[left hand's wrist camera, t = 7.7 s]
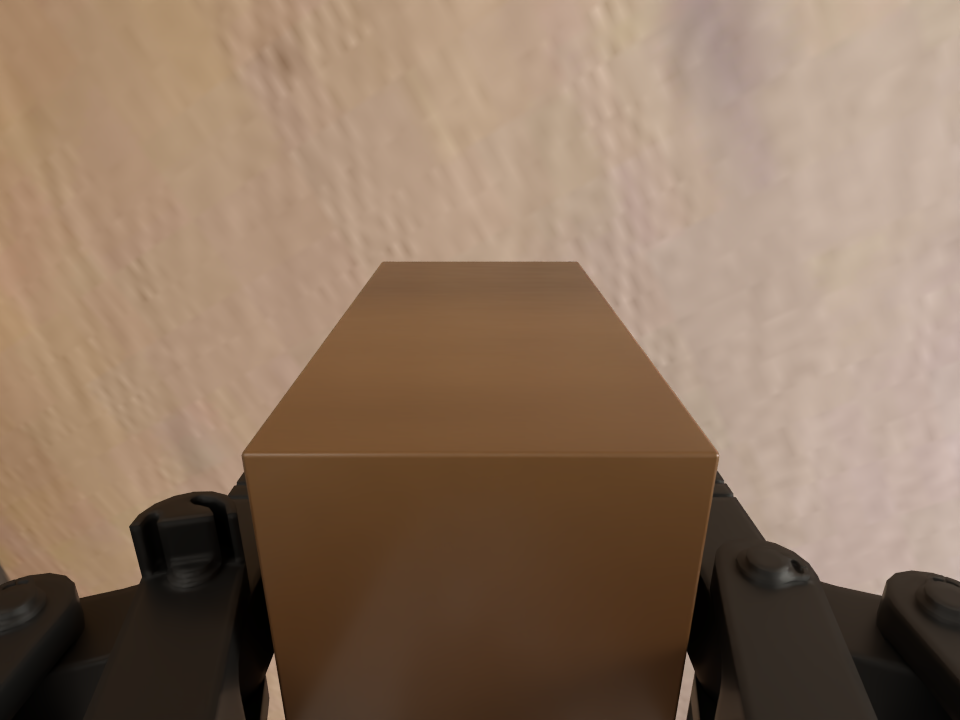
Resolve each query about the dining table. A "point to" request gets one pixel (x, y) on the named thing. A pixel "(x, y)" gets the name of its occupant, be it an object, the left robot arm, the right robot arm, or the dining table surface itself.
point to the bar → (480, 506)
